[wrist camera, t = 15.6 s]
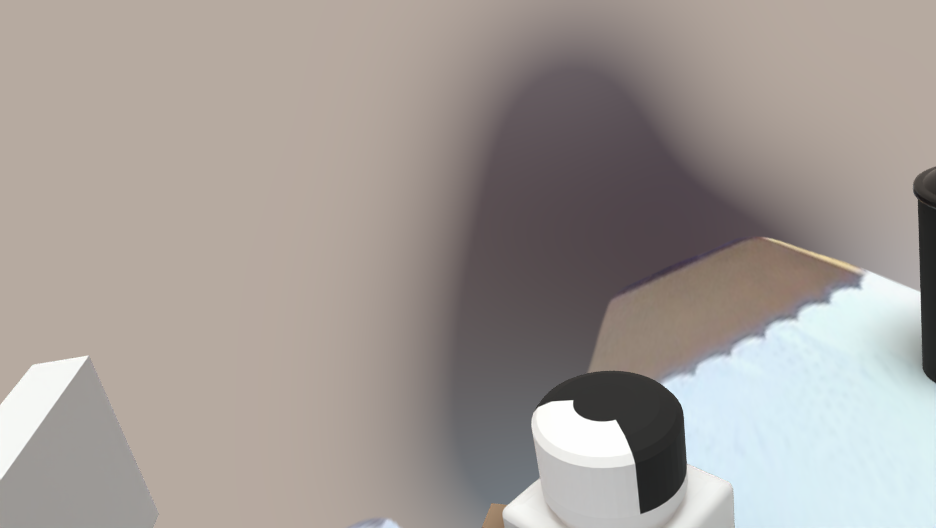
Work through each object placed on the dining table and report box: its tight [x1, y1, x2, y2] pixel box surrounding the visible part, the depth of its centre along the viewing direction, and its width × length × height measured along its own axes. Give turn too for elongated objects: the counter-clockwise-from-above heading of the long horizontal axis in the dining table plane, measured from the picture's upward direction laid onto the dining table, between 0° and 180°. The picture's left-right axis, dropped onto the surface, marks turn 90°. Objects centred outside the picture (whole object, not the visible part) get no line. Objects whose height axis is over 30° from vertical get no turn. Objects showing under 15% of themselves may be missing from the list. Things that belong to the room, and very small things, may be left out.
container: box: [502, 371, 735, 528], centre depth 38 cm, size 8×8×13 cm
